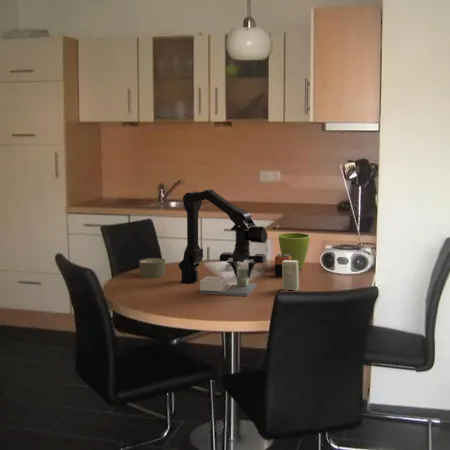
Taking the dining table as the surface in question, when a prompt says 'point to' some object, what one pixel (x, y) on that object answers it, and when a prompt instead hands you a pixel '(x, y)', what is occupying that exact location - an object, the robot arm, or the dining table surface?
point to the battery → (280, 263)
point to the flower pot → (294, 246)
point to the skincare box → (290, 275)
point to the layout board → (234, 290)
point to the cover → (213, 283)
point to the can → (152, 267)
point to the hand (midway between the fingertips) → (242, 277)
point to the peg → (242, 277)
